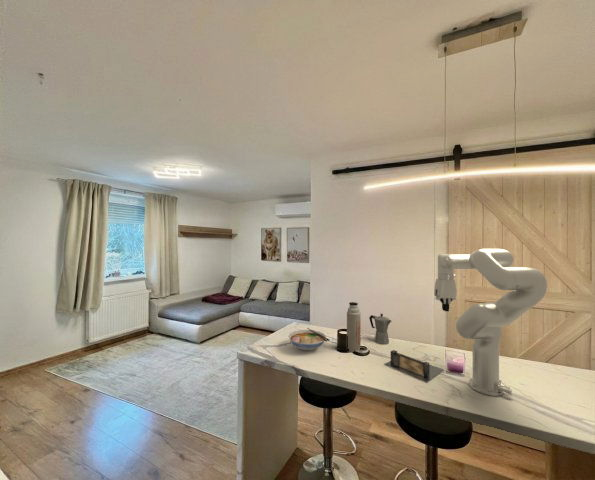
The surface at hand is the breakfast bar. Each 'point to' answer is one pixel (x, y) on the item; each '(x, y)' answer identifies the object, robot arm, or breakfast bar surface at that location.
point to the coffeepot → (380, 328)
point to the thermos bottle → (354, 327)
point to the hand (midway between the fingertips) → (445, 310)
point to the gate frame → (428, 375)
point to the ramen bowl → (307, 339)
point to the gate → (411, 364)
